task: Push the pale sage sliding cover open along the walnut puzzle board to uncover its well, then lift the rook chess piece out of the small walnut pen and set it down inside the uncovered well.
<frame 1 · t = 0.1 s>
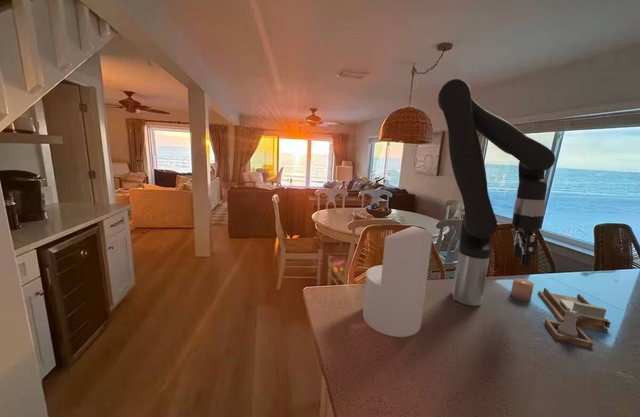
hand: (520, 261, 86), 17 cm above the countertop, tool pointing down, fingers open, 8 cm apart
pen: (566, 335, 77), on the countertop
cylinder: (391, 318, 81), on the countertop
board: (579, 319, 85), on the countertop
tan rounded block: (520, 296, 98), on the countertop
cover: (583, 305, 84), point 5 cm above the countertop, slide at 0.0 cm
rook chess piece: (566, 335, 77), resting in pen
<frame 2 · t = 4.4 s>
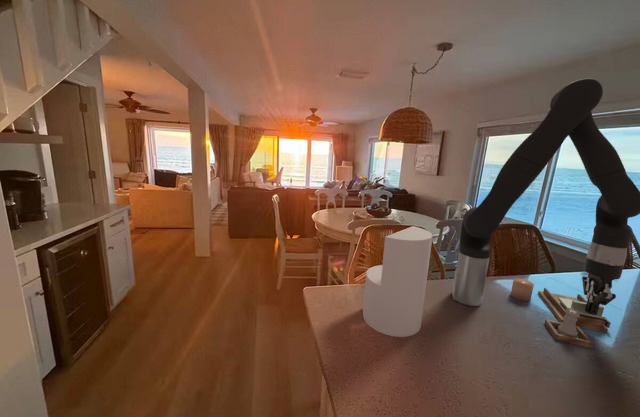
hand: (590, 313, 80), 5 cm above the countertop, tool pointing down, fingers closed
cover: (581, 303, 85), point 5 cm above the countertop, slide at 1.2 cm, touching gripper
everything else where it was.
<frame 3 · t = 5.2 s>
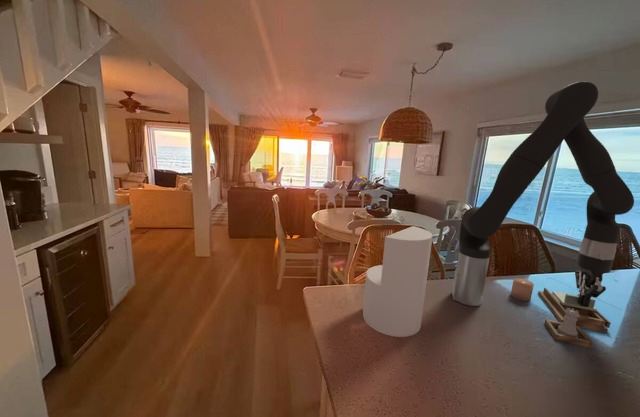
hand: (582, 305, 84), 5 cm above the countertop, tool pointing down, fingers closed
cover: (574, 296, 89), point 5 cm above the countertop, slide at 5.8 cm, touching gripper
everything else where it was.
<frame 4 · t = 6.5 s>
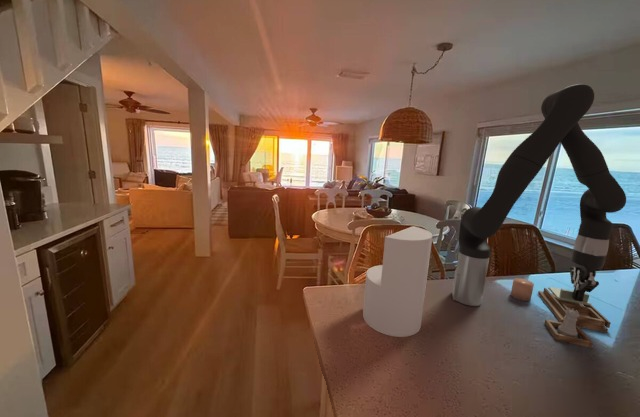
hand: (577, 299, 87), 5 cm above the countertop, tool pointing down, fingers closed
cover: (569, 292, 92), point 5 cm above the countertop, slide at 9.5 cm, touching gripper
everything else where it was.
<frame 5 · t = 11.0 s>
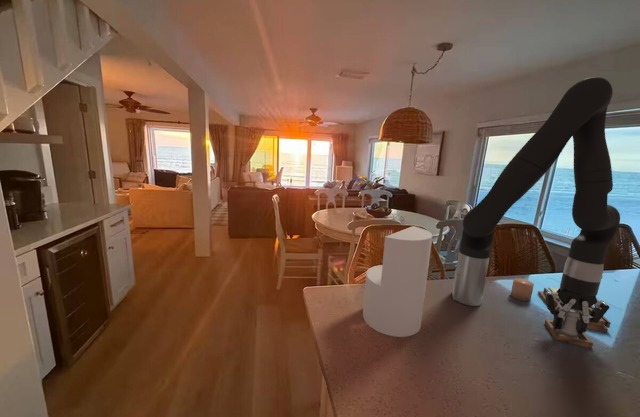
hand: (567, 329, 76), 2 cm above the countertop, tool pointing down, fingers closed on rook chess piece, 4 cm apart
cover: (569, 291, 92), point 5 cm above the countertop, slide at 9.5 cm
rook chess piece: (566, 335, 77), resting in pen, touching gripper
everything else where it was.
when the fingers open (4 cm above the countertop, at t = 16.0 s): rook chess piece drops 1 cm, resting on board.
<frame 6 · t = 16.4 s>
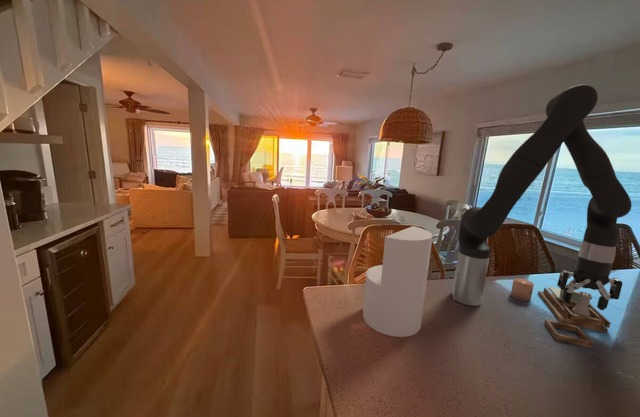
hand: (582, 305, 84), 5 cm above the countertop, tool pointing down, fingers open, 8 cm apart
rook chess piece: (579, 316, 85), point 1 cm above the countertop, touching board
everything else where it was.
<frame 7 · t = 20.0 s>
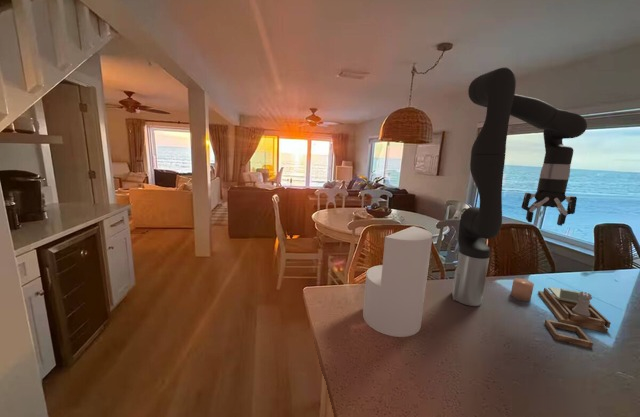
hand: (544, 223, 93), 28 cm above the countertop, tool pointing down, fingers open, 8 cm apart
nothing on the countertop moved.
at the end: cover slide at 9.5 cm; rook chess piece 0.1 cm off-centre on the board, point 1.0 cm above the board's base; rook chess piece tilted 0° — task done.
